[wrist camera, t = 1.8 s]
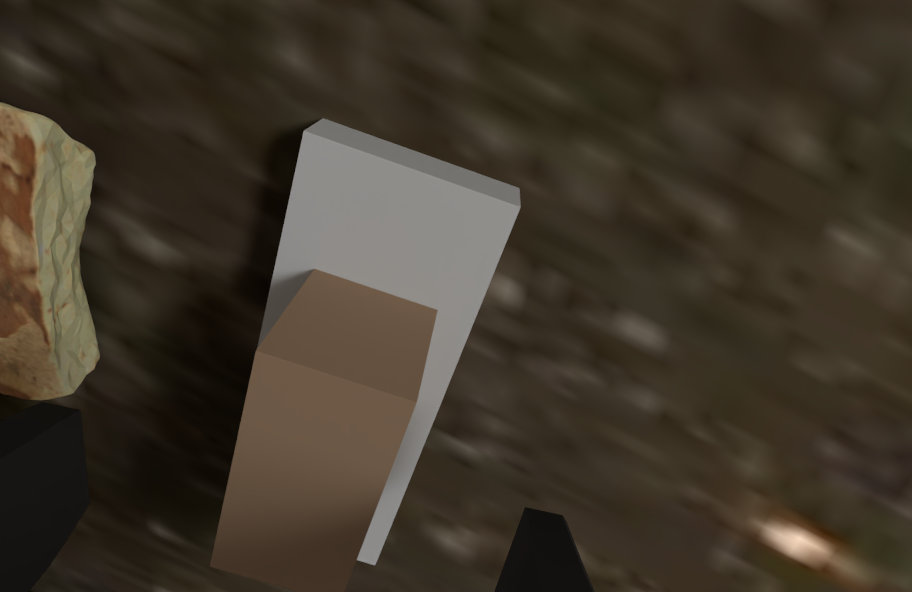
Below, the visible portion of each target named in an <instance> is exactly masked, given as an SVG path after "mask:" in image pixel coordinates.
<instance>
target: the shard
mask: <svg viewBox="0 0 912 592" xmlns="http://www.w3.org/2000/svg"><path fill="white" fill-rule="evenodd" d="M95 165H96V161H95V154H94V152H93V151H92V150H90V149H89V148H88V147H86V146H85V145H84V144H82V143H79V142H77V141H75V140H73V139H72V138H70V137H69V136H68V135H67V134H66V133H65V132H64V131H63V130H62V129H61V127H60V126H59V125H58V124H57V123H55V122H54V121H53V120H51V119H49V118H47V117H45V116H43V115H40V114H37V113H33V112H28V111H24V110H21V109H19V108H16V107H13V106H11V105H8V104H4V103H0V393H2V394H7V395H11V396H15V397H18V398H22V399H29V400H48V399H52V398H57V397H61V396H66V395H70V394H73V393H74V392H75V390H76V389H77V388H78V386H79V385H80V384H81V383H82V381H83V379H84V378H85V376H86V375H87V374H88V373H89V372H91V371H92V370H93V369H95V365H96V363H97V362H98V360H99V358H100V352H99V349H98V344H97V340H96V334H95V328H94V324H93V321H92V317H91V313H90V309H89V306H88V302H87V298H86V294H85V291H84V288H83V283H82V279H81V274H80V259H79V247H80V243H81V240H82V236H83V232H84V230H85V219H86V216H87V213H88V210H89V207H90V205H91V200H90V193H91V189H92V180H93V177H94V175H93V170H94V167H95Z"/></svg>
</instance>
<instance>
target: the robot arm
mask: <svg viewBox="0 0 912 592" xmlns="http://www.w3.org/2000/svg"><path fill="white" fill-rule="evenodd" d="M89 504H90V499H89V490H88V480H87V471H86V461H85V452H84V442H83V432H82V423H81V413H80V410H77V409H72V408H68V407H63V406H58V405H54V404H49V403H45V402H41V403H39V404H36V405H34V406H32V407H30V408H27V409H25V410H23V411H21V412H19V413H17V414H14V415H12V416H10V417H8V418H6V419H4V420H2V421H0V592H29V591H30V589H31V588H32V587H33V586H34V584H35V583H36V582H37V581H38V579H39V578H40V577H41V576H42V574H43V573H44V572H45V571H46V569H47V568H48V567H49V566H50V564H51V563H52V561H53V560H54V558H55V557H56V555H57V554H58V552H59V551H60V549H61V548H62V546H63V545H64V543H65V542H66V540H67V539H68V537H69V536H70V534H71V533H72V531H73V529H74V528H75V526H76V525H77V523H78V521H79V520H80V518H81V516H82V515H83V513H84V512H85V510H86V508H87V507H88V505H89ZM495 592H594V589H593V587H592V585H591V582H590V580H589V577H588V575H587V573H586V570H585V568H584V565H583V563H582V560H581V558H580V555H579V553H578V550H577V548H576V545H575V543H574V540H573V537H572V535H571V532H570V530H569V527H568V524H567V522H566V520H565V519H564V517H563V516H562V515H559V514H554V513H549V512H545V511H540V510H536V509H531V508H526V507H525V509H524V512H523V515H522V517H521V520H520V523H519V526H518V528H517V531H516V534H515V537H514V539H513V542H512V545H511V548H510V550H509V553H508V556H507V559H506V561H505V564H504V567H503V570H502V572H501V575H500V578H499V581H498V583H497V586H496V589H495Z"/></svg>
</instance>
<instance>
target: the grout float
mask: <svg viewBox="0 0 912 592" xmlns="http://www.w3.org/2000/svg"><path fill="white" fill-rule="evenodd" d="M519 210H520V191H519V188H517V187H514V186H512V185H509V184H506V183H503V182H500V181H498V180H495V179H492V178H489V177H486V176H483V175H481V174H478V173H475V172H472V171H469V170H467V169H464V168H461V167H458V166H455V165H453V164H450V163H447V162H444V161H441V160H439V159H436V158H433V157H430V156H427V155H424V154H422V153H419V152H416V151H413V150H410V149H408V148H405V147H402V146H399V145H396V144H394V143H391V142H388V141H385V140H382V139H380V138H377V137H374V136H371V135H368V134H365V133H363V132H360V131H357V130H354V129H351V128H349V127H346V126H343V125H340V124H337V123H335V122H332V121H329V120H326V119H321V120H320V121H318V122H316V123H315V124H313V125H312V126H310V127H309V128H307V129H306V130H304V132H303V137H302V141H301V146H300V151H299V155H298V160H297V165H296V169H295V174H294V179H293V183H292V188H291V193H290V197H289V202H288V207H287V211H286V216H285V221H284V225H283V230H282V235H281V239H280V244H279V249H278V253H277V258H276V263H275V267H274V272H273V277H272V281H271V286H270V291H269V295H268V300H267V305H266V309H265V314H264V319H263V323H262V328H261V333H260V337H259V342H258V347H257V350H256V352H255V357H254V362H253V366H252V371H251V376H250V381H249V385H248V390H247V395H246V399H245V404H244V409H243V413H242V418H241V423H240V427H239V432H238V437H237V441H236V446H235V451H234V455H233V460H232V465H231V470H230V474H229V479H228V484H227V488H226V493H225V498H224V502H223V507H222V512H221V516H220V521H219V526H218V530H217V535H216V540H215V544H214V549H213V554H212V559H211V563H210V567H214V568H217V569H220V570H224V571H227V572H231V573H234V574H238V575H241V576H244V577H248V578H251V579H255V580H258V581H262V582H265V583H268V584H272V585H275V586H279V587H282V588H286V589H289V590H292V591H296V592H345V589H346V587H347V584H348V581H349V579H350V576H351V573H352V571H353V568H354V566H355V563H356V560H359V561H362V562H366V563H369V564H372V565H375V564H376V562H377V559H378V557H379V555H380V552H381V550H382V547H383V545H384V542H385V540H386V537H387V535H388V532H389V530H390V527H391V525H392V523H393V520H394V518H395V515H396V513H397V510H398V508H399V505H400V503H401V500H402V498H403V495H404V493H405V490H406V488H407V486H408V483H409V481H410V478H411V476H412V473H413V471H414V468H415V466H416V463H417V461H418V458H419V456H420V454H421V451H422V449H423V446H424V444H425V441H426V439H427V436H428V434H429V431H430V429H431V426H432V424H433V422H434V419H435V417H436V414H437V412H438V409H439V407H440V404H441V402H442V399H443V397H444V394H445V392H446V389H447V387H448V385H449V382H450V380H451V377H452V375H453V372H454V370H455V367H456V365H457V362H458V360H459V357H460V355H461V353H462V350H463V348H464V345H465V343H466V340H467V338H468V335H469V333H470V330H471V328H472V325H473V323H474V320H475V318H476V316H477V313H478V311H479V308H480V306H481V303H482V301H483V298H484V296H485V293H486V291H487V288H488V286H489V284H490V281H491V279H492V276H493V274H494V271H495V269H496V266H497V264H498V261H499V259H500V256H501V254H502V251H503V249H504V247H505V244H506V242H507V239H508V237H509V234H510V232H511V229H512V227H513V224H514V222H515V219H516V217H517V215H518V212H519Z"/></svg>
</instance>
